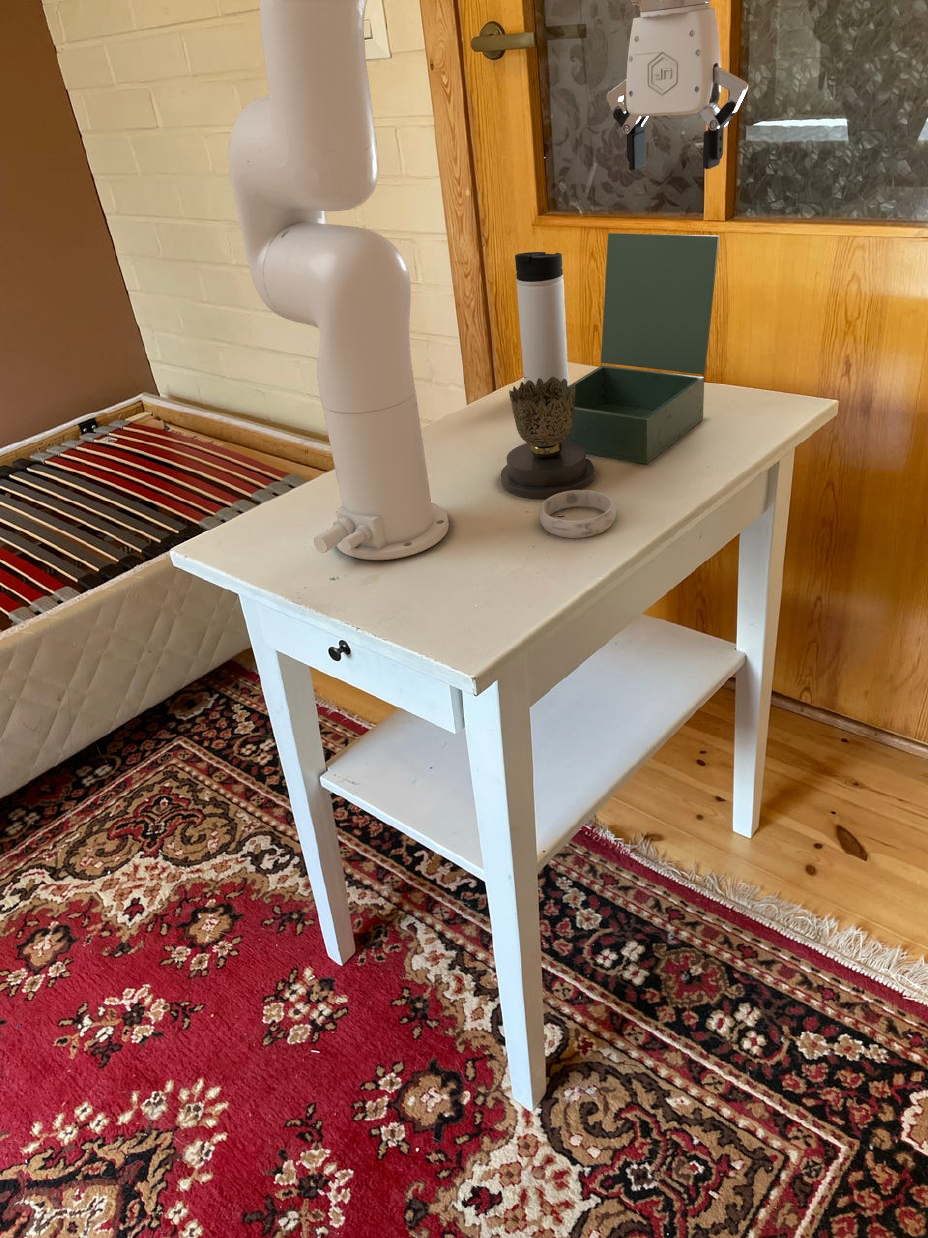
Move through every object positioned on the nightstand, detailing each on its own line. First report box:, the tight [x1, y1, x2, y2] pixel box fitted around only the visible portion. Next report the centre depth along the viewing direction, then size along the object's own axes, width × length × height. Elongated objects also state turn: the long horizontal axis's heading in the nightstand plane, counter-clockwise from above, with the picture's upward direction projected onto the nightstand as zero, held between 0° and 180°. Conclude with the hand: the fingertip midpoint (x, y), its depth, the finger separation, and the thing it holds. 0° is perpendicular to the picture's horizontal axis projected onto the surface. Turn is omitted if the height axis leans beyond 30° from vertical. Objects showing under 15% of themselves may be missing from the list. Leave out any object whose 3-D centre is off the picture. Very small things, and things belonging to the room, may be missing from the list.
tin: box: [565, 364, 705, 465], centre depth 118 cm, size 15×15×6 cm
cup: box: [508, 377, 576, 459], centre depth 107 cm, size 8×7×8 cm
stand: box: [499, 440, 596, 500], centre depth 109 cm, size 11×11×3 cm
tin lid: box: [600, 232, 720, 375], centre depth 118 cm, size 16×15×1 cm
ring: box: [538, 489, 617, 539], centre depth 100 cm, size 8×8×2 cm
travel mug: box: [514, 251, 570, 387], centre depth 128 cm, size 6×7×20 cm
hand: (673, 167), depth 112 cm, fingers open, 9 cm apart
